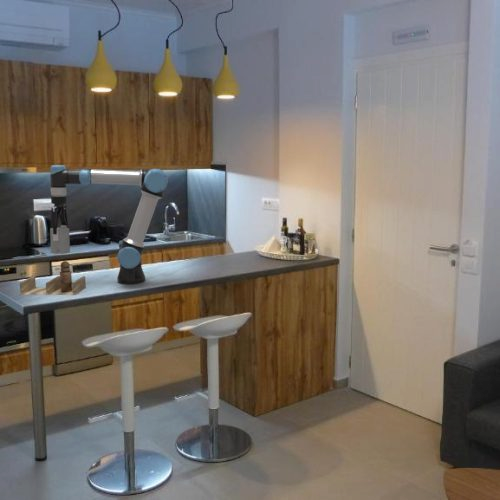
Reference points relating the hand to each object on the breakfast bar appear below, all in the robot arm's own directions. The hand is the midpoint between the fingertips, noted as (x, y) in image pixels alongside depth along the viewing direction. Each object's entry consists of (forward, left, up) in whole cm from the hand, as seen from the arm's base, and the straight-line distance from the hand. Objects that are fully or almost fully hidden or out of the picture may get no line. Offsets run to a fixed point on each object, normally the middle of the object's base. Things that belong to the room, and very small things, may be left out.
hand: (59, 239), depth 319 cm
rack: (+2, +7, -27) cm, 28 cm away
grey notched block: (0, 0, -7) cm, 7 cm away
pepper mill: (-5, +7, -26) cm, 27 cm away
